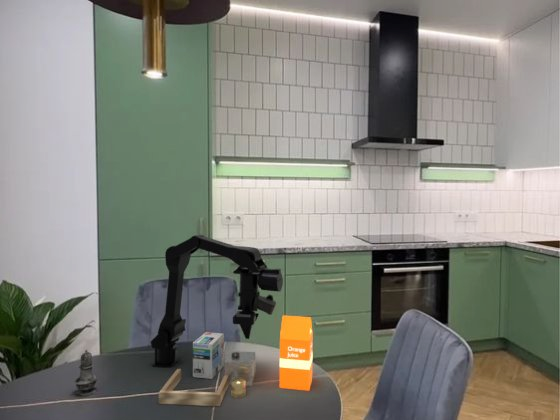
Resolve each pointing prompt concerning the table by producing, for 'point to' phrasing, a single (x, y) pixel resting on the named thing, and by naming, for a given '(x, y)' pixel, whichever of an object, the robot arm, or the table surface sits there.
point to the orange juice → (296, 353)
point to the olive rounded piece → (238, 387)
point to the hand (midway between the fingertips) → (247, 338)
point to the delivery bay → (191, 393)
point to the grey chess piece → (86, 376)
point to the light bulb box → (208, 355)
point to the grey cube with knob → (241, 366)
